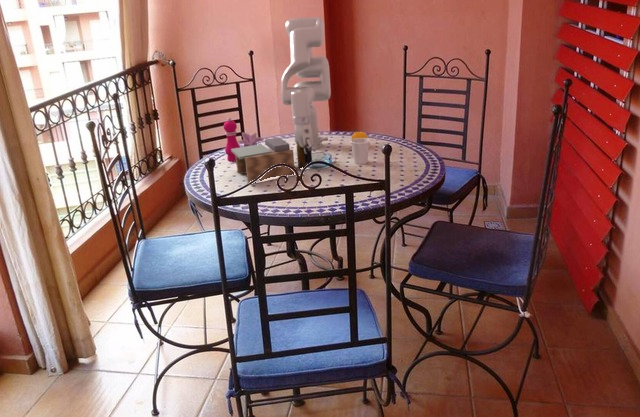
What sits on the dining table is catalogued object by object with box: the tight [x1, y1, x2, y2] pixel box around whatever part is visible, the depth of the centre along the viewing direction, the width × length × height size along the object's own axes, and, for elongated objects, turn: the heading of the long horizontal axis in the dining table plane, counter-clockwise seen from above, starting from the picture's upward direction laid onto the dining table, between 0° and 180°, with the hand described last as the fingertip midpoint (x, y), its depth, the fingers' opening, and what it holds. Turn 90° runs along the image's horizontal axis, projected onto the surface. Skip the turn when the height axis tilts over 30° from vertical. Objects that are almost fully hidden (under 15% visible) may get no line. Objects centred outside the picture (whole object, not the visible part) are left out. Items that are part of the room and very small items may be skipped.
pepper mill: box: [223, 117, 241, 163], centre depth 251 cm, size 7×7×20 cm
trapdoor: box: [231, 137, 291, 159], centre depth 227 cm, size 21×14×4 cm, turn 113°
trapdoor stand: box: [235, 142, 299, 184], centre depth 229 cm, size 21×18×11 cm
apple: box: [350, 131, 369, 141], centre depth 260 cm, size 8×8×8 cm
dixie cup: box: [350, 137, 371, 166], centre depth 236 cm, size 8×8×10 cm
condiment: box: [294, 141, 310, 171], centre depth 235 cm, size 7×8×12 cm
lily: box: [237, 132, 265, 147], centre depth 267 cm, size 12×12×10 cm
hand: (304, 159), depth 236 cm, fingers open, 7 cm apart
